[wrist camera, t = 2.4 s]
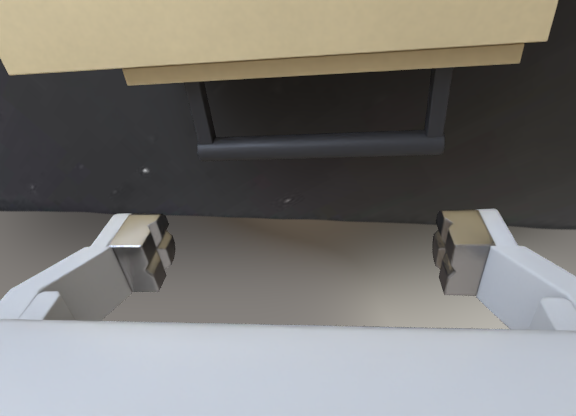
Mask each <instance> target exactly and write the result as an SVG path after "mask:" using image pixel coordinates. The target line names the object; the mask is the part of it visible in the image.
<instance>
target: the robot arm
mask: <svg viewBox="0 0 576 416" xmlns="http://www.w3.org/2000/svg"><path fill="white" fill-rule="evenodd" d="M436 224H437V227H438V231H437V232H436V233H435V234H434V236H433V258H434V262H435V266H437V267H438V268H439V269H440V275H439V279H440V282H441V285H442V289H443V292H444V295H465V296H467V295H468V296H476V298H478V299H479V300H480V301H481V302H482V303H483V304H484V305H485V306H486V307H487V308H488V309H489V310H490V311H491V312H492V313H494V315H495V316H497V317H498V318H499V319H500V320H501V321H502V322H503V323H504V324H505V325H506V326H507V327H508V328H509V329H471V328H415V327H414V328H413V327H368V326H325V325H323V326H322V325H273V324H270V325H269V324H222V323H172V322H124V321H101V320H102V319H104V318H105V317H106V316H107V315H108V314H109V313H110V312H112V311H113V310H114V309H115V308H116V307H117V306H118V305H120V304H121V303H122V302H123V301H124V300H125V299H126V298H127V297H129V296H130V295H131V294H132V292H158V291H159V290H160V288H161V286H162V284H163V281H164V279H165V277H166V273H165V269H166V268H167V267H169V266H170V265H171V264H172V261H173V259H174V255H175V242H174V239H173V236H172V235H171V234H170V233H169V232H168V231H166V229H167V227H168V225H169V223H168V221H167V218H166V216H165V215H163V214H115V215H113V217H112V218H111V219H110V221H109V222H108V223H107V225H106V226H105V227H104V229H103V230H102V232H101V233H100V234H99V236H98V237H97V238H96V240H95V241H94V242H93V244H92V245H91V246H90V247H85V248H83V249H81V250H79V251H78V252H76V253H74V254H72V255H70V256H69V257H67V258H65V259H63V260H62V261H60V262H58V263H56V264H55V265H53V266H51V267H49V268H48V269H46V270H44V271H42V272H40V273H39V274H37V275H35V276H33V277H32V278H30V279H28V280H26V281H24V282H23V283H21V284H19V285H17V286H16V287H14V288H12V289H11V290H9V291H8V293H7V294H6V295H5V296H4V297H3V299H2V300H1V301H0V416H576V276H575V275H573V274H571V273H570V272H568V271H566V270H564V269H563V268H561V267H559V266H558V265H556V264H554V263H552V262H551V261H549V260H547V259H546V258H544V257H542V256H541V255H539V254H537V253H535V252H534V251H532V250H530V249H529V248H527V247H525V246H518V244H517V243H516V241H515V239H514V237H513V236H512V234H511V232H510V231H509V229H508V227H507V225H506V224H505V222H504V220H503V219H502V217H501V215H500V213H499V212H498V210H496V209H476V210H441V211H439V212H438V214H437V219H436Z"/></svg>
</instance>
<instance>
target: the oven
mask: <svg viewBox="0 0 576 416" xmlns="http://www.w3.org/2000/svg"><path fill="white" fill-rule="evenodd" d="M557 4H558V0H0V58H1V60H2V62H3V64H4V66H5V68H6V70H7V72H8V74H9V75H24V74H40V73H56V72H72V71H88V70H103V69H119V68H135V67H151V66H167V65H182V64H198V63H214V62H230V61H246V60H261V59H277V58H293V57H309V56H325V55H340V54H356V53H372V52H388V51H404V50H419V49H435V48H451V47H467V46H483V45H498V44H514V43H530V42H545V41H547V40H548V36H549V33H550V29H551V26H552V22H553V18H554V15H555V11H556V8H557Z"/></svg>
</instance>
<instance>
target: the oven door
mask: <svg viewBox="0 0 576 416" xmlns="http://www.w3.org/2000/svg"><path fill="white" fill-rule="evenodd" d="M523 48H524V43H514V44H498V45H483V46H467V47H451V48H435V49H419V50H404V51H388V52H372V53H356V54H340V55H325V56H309V57H293V58H277V59H261V60H246V61H230V62H214V63H198V64H182V65H167V66H151V67H135V68H123V69H122V70H123V73H124V76H125V79H126V82H127V85H128V86H129V85H147V84H165V83H182V82H184V86H185V90H186V94H187V98H188V102H189V106H190V110H191V114H192V118H193V122H194V126H195V130H196V134H197V139H198V145H197V150H198V156H199V159H200V160H201V161H233V160H268V159H304V158H340V157H376V156H412V155H441V154H443V151H444V147H445V135H444V126H445V120H446V113H447V107H448V100H449V94H450V87H451V80H452V74H453V67H464V66H482V65H499V64H517V63H520V60H521V56H522V52H523ZM429 68H432V70H431V78H430V87H429V95H428V103H427V112H426V120H425V128H424V130H409V131H381V132H354V133H326V134H299V135H271V136H244V137H216V135H215V130H214V126H213V121H212V116H211V112H210V107H209V103H208V98H207V94H206V89H205V84H204V81H218V80H235V79H253V78H270V77H288V76H306V75H323V74H341V73H358V72H376V71H394V70H411V69H429Z"/></svg>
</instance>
